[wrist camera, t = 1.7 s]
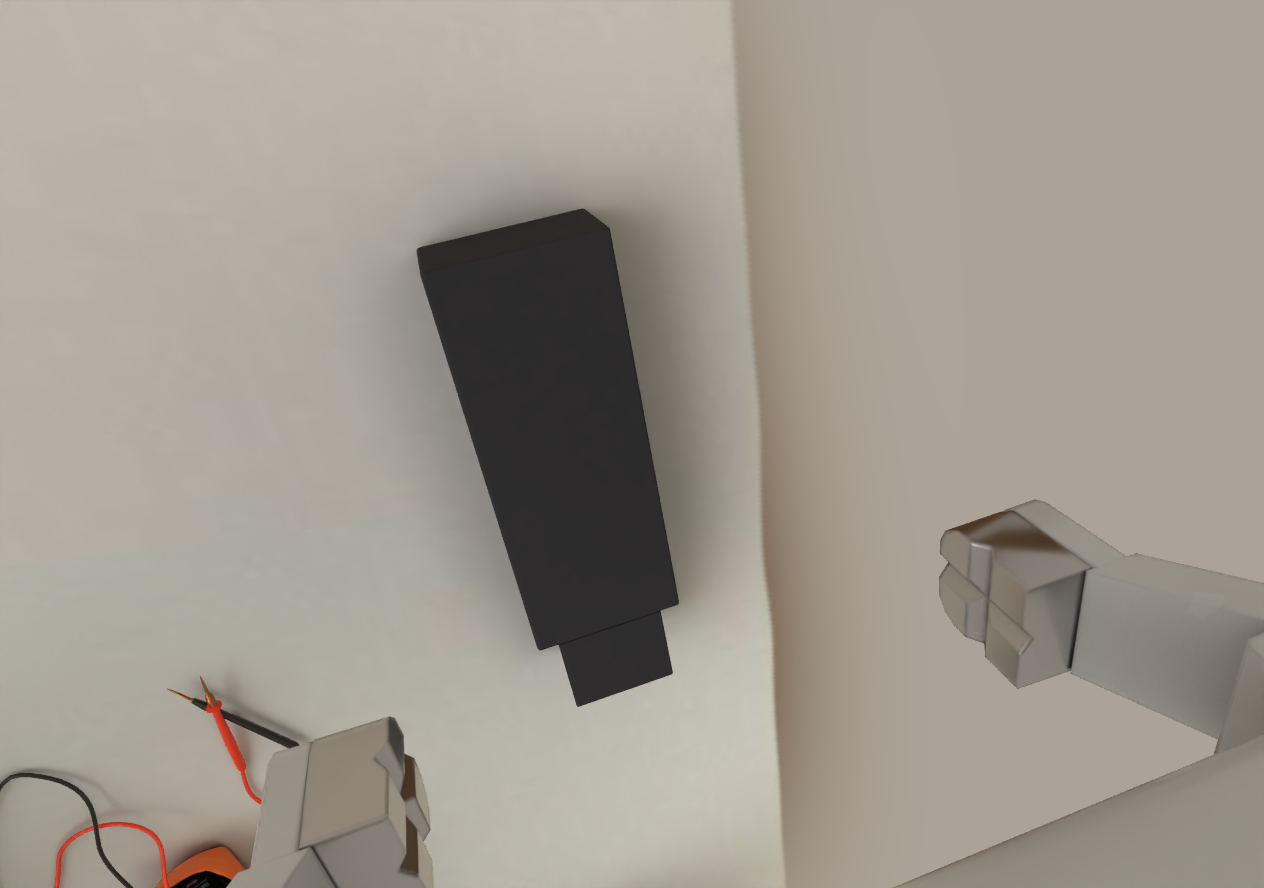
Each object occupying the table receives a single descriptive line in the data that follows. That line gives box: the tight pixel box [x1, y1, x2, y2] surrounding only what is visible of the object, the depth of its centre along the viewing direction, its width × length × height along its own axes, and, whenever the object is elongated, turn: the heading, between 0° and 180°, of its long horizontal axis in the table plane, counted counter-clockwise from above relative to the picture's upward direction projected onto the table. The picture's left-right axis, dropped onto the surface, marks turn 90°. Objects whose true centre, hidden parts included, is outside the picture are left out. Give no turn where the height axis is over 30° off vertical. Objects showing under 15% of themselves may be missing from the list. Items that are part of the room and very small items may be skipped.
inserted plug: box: [417, 209, 679, 707], centre depth 25 cm, size 16×5×3 cm, turn 10°
